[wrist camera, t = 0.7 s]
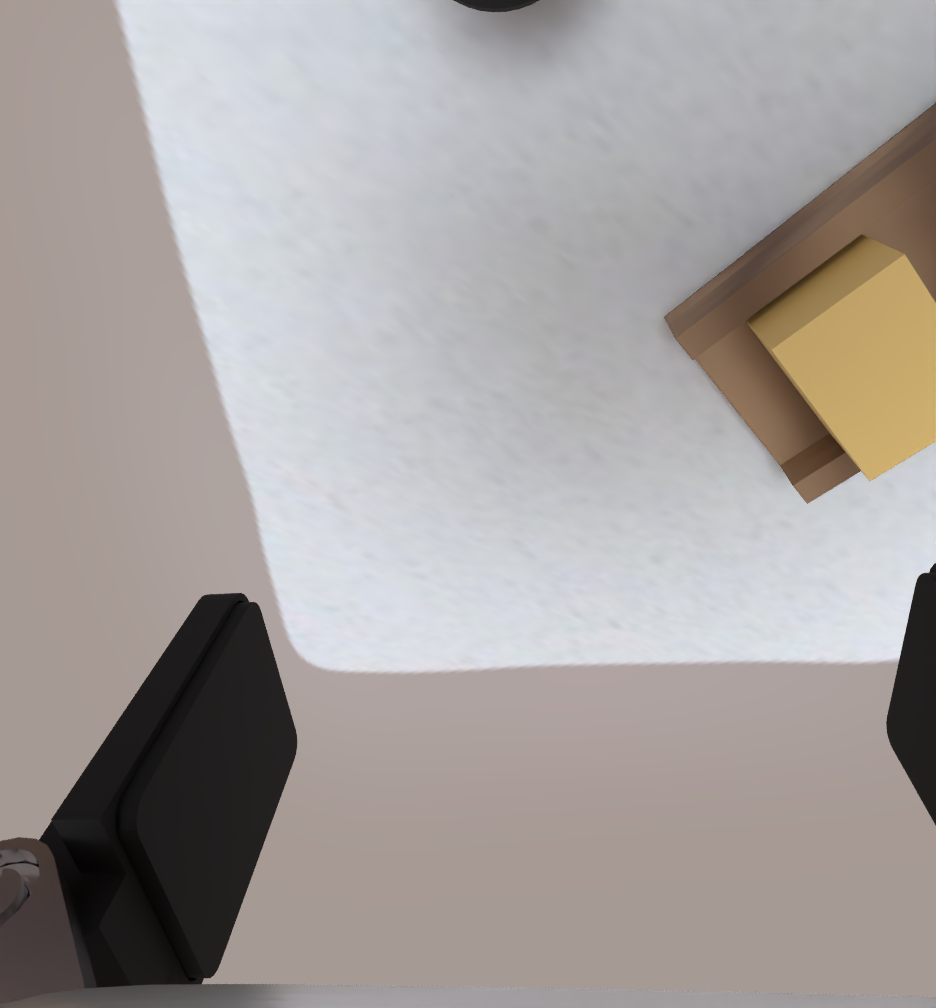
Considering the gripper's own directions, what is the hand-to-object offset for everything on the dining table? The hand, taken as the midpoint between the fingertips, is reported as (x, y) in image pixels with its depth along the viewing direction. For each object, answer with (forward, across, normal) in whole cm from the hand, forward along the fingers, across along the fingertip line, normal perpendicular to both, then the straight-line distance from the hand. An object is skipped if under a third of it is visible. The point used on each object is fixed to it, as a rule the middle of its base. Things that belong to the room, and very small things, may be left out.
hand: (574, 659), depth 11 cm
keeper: (+23, -12, +3) cm, 26 cm away
